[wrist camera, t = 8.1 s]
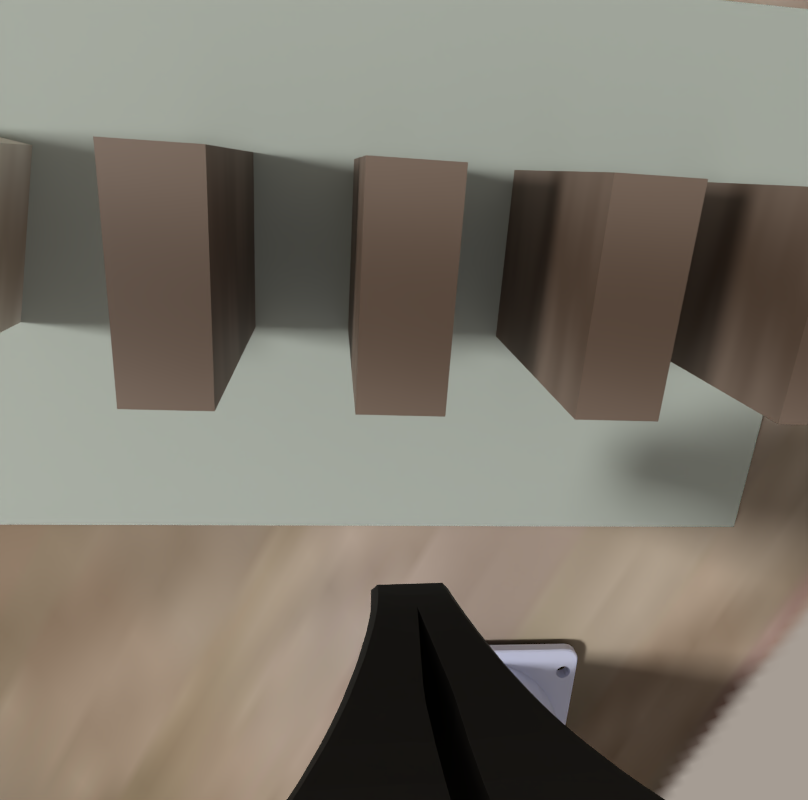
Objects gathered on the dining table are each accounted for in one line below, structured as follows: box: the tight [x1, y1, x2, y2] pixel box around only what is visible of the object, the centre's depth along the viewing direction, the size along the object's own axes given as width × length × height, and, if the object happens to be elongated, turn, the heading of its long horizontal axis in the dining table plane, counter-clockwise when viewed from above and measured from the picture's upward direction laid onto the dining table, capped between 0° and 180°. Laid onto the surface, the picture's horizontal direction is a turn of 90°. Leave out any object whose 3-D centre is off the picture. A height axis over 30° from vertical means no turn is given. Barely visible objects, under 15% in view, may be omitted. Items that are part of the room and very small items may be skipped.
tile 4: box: [93, 136, 256, 411], centre depth 15 cm, size 5×2×7 cm, turn 176°
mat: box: [0, 0, 808, 527], centre depth 19 cm, size 16×26×1 cm, turn 86°
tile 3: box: [348, 155, 468, 417], centre depth 15 cm, size 5×2×7 cm, turn 176°
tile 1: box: [671, 182, 808, 425], centre depth 17 cm, size 5×2×7 cm, turn 176°
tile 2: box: [496, 170, 708, 422], centre depth 16 cm, size 5×2×7 cm, turn 176°
